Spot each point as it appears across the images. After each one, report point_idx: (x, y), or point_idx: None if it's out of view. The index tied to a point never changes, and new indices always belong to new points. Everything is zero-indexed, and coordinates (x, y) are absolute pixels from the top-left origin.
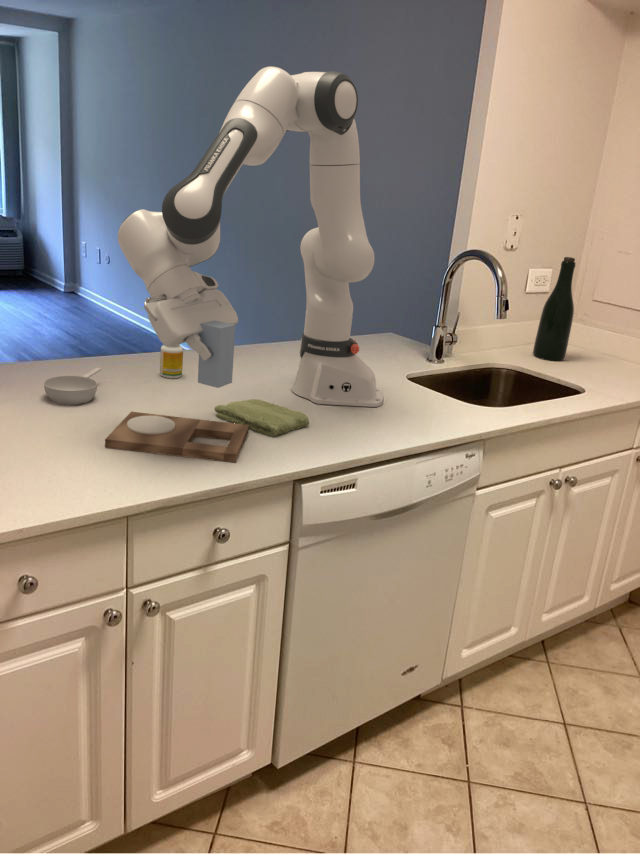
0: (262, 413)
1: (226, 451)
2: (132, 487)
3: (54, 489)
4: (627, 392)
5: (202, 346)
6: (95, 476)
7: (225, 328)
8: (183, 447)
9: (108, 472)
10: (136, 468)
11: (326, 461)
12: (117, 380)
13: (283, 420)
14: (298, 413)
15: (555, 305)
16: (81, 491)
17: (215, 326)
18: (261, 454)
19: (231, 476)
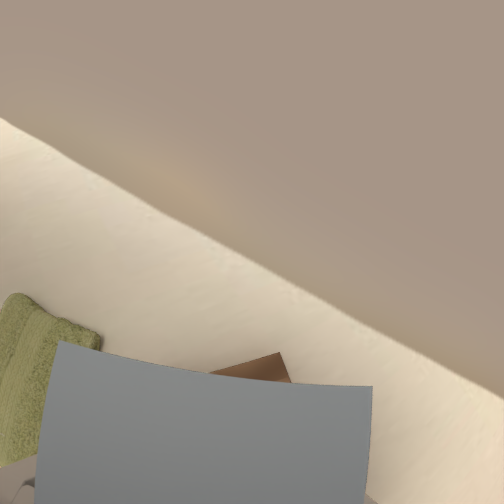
0: (34, 381)
1: (278, 376)
2: (457, 425)
3: (501, 482)
4: None
5: (369, 497)
6: (456, 489)
7: (271, 384)
8: None
9: (438, 490)
10: (406, 475)
11: (173, 223)
12: None
13: (53, 327)
14: (12, 309)
15: None
16: (492, 458)
17: (335, 489)
18: (204, 331)
19: (337, 332)
